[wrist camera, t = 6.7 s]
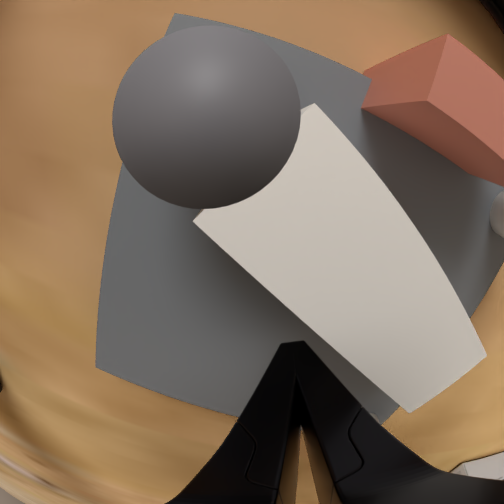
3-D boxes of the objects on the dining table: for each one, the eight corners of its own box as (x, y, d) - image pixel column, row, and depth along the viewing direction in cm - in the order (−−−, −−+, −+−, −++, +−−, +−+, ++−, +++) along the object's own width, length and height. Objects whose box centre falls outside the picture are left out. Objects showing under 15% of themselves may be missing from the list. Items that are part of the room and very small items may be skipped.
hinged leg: (154, 124, 7) (82, 128, 4) (229, 46, 6) (202, -7, 3) (373, 337, 10) (404, 416, 6) (437, 285, 9) (491, 351, 6)
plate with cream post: (362, 420, 13) (379, 498, 9) (106, 349, 12) (60, 430, 8) (517, 178, 8) (604, 218, 4) (191, 11, 7) (131, -64, 3)
